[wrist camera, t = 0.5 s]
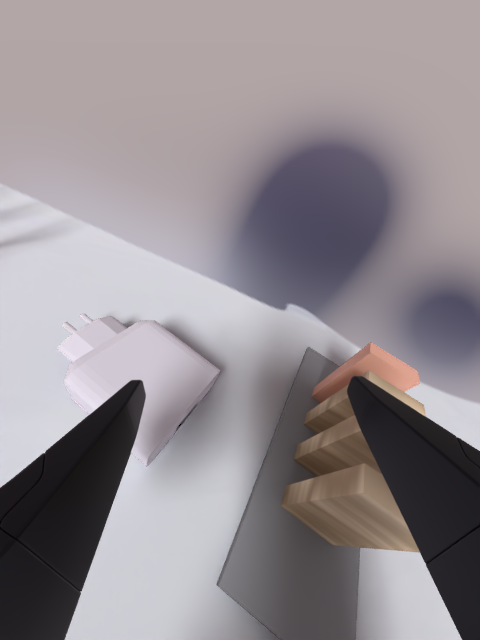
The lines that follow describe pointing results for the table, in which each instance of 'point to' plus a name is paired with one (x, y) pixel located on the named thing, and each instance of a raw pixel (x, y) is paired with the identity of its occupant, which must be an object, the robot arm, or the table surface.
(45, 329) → the table surface
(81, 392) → the charger
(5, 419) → the table surface
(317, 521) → the domino
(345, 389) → the domino
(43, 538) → the robot arm
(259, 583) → the domino mat
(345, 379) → the domino
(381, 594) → the table surface
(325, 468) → the domino
